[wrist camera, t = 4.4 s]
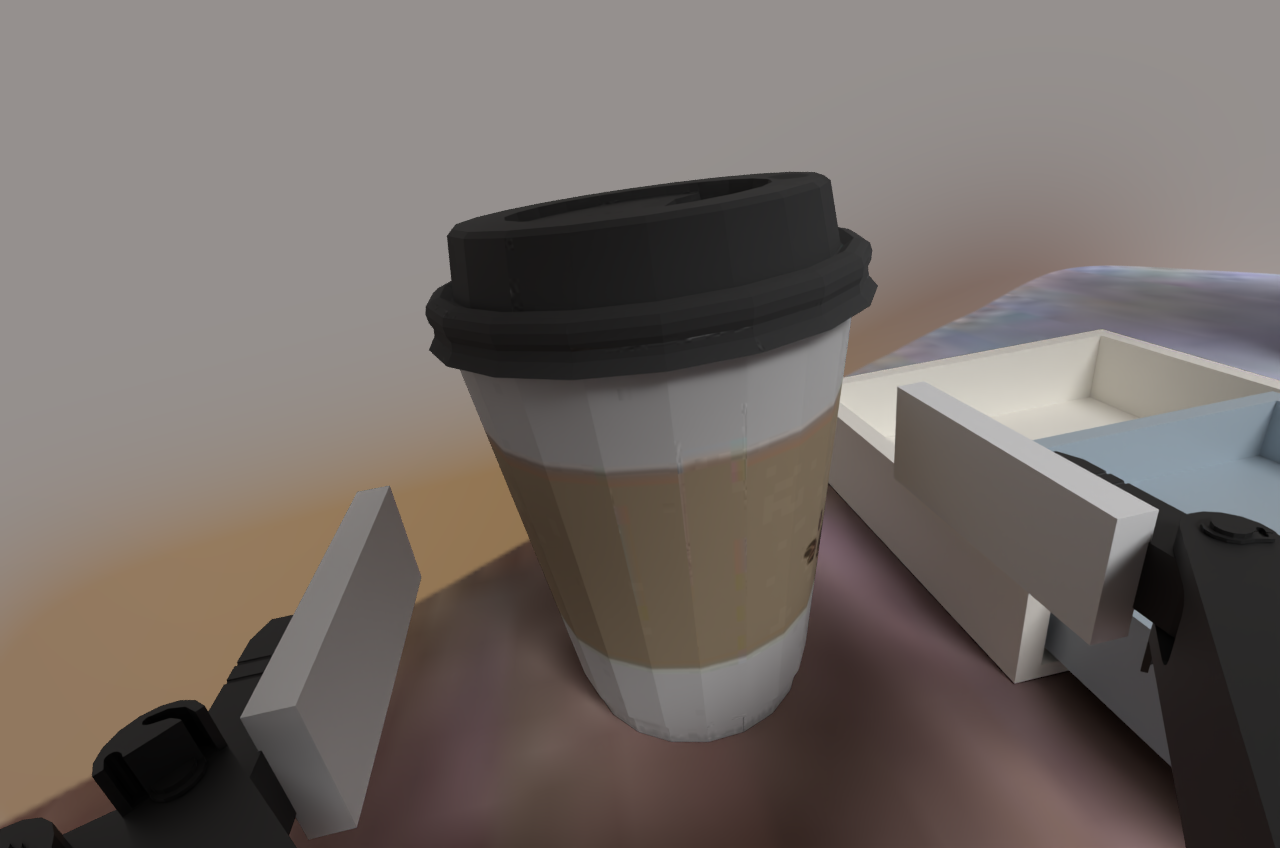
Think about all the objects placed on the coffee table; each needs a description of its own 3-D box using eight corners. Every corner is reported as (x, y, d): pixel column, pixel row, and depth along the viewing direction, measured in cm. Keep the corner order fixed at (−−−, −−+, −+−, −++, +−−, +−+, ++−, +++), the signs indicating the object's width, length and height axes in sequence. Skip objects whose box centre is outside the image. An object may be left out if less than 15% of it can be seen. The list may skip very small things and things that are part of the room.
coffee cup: (936, 785, 16) (996, 171, 10) (507, 844, 16) (306, 272, 10) (807, 536, 26) (797, 162, 20) (546, 573, 27) (459, 211, 20)
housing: (1089, 397, 35) (1101, 329, 33) (1493, 567, 20) (1550, 459, 18) (802, 454, 33) (800, 385, 31) (1014, 683, 18) (1031, 577, 17)
